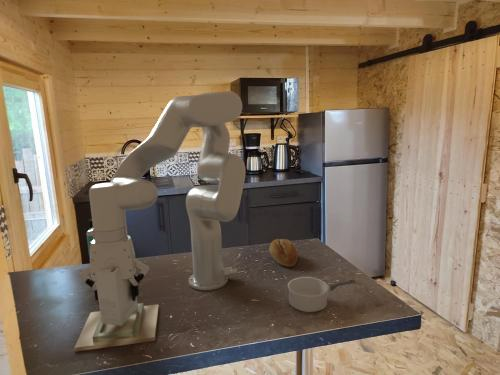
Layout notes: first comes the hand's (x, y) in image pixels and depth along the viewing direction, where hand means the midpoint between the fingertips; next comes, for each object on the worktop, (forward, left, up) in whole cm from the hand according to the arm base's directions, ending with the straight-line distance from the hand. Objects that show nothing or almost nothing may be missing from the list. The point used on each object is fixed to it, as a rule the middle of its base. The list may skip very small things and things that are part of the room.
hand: (117, 299), depth 87 cm
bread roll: (-52, -30, -8) cm, 61 cm away
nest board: (0, 0, -8) cm, 8 cm away
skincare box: (0, 0, -5) cm, 5 cm away
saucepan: (-55, 0, -8) cm, 56 cm away
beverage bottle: (+12, -34, -8) cm, 37 cm away
